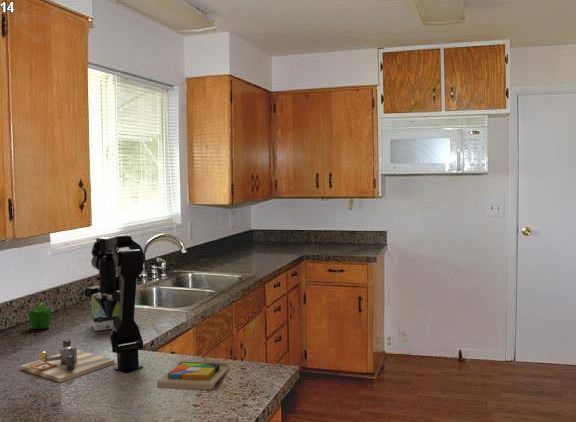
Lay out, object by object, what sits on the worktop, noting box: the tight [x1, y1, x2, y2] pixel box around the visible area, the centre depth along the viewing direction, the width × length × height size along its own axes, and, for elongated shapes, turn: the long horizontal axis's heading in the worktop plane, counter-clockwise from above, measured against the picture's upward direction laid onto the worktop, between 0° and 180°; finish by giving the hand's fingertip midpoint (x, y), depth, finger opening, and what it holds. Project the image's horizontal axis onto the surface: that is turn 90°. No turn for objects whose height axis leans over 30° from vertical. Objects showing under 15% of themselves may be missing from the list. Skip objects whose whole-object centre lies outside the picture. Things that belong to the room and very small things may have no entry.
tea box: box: [91, 291, 120, 332], centre depth 235 cm, size 15×10×15 cm, turn 114°
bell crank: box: [38, 339, 78, 371], centre depth 187 cm, size 11×20×5 cm, turn 24°
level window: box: [31, 362, 57, 371], centre depth 185 cm, size 6×6×1 cm
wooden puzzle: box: [156, 360, 230, 391], centre depth 177 cm, size 18×19×4 cm
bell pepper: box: [28, 301, 52, 330], centre depth 234 cm, size 8×8×10 cm
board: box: [20, 349, 116, 383], centre depth 189 cm, size 21×20×1 cm
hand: (109, 318), depth 201 cm, fingers closed
